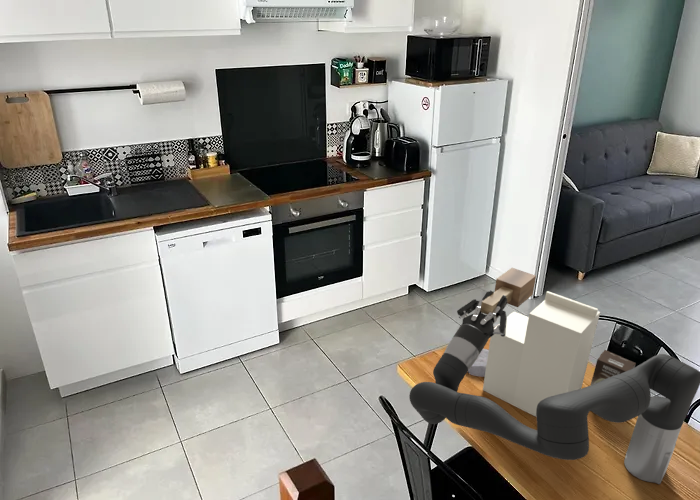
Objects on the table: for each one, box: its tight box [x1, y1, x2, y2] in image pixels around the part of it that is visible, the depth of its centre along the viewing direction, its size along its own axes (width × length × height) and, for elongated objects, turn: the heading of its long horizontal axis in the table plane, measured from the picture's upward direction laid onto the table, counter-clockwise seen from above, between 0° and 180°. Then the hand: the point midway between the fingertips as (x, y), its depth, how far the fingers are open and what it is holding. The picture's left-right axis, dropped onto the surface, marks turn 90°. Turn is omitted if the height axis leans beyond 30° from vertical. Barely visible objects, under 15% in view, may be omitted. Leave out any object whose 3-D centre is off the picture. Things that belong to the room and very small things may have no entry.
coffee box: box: [590, 349, 637, 385], centre depth 157 cm, size 9×6×16 cm
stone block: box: [467, 348, 489, 378], centre depth 176 cm, size 12×5×10 cm
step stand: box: [482, 290, 601, 417], centre depth 156 cm, size 24×14×34 cm, turn 48°
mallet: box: [481, 267, 537, 315], centre depth 142 cm, size 7×20×6 cm, turn 138°
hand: (498, 294), depth 139 cm, fingers closed on mallet, 3 cm apart
